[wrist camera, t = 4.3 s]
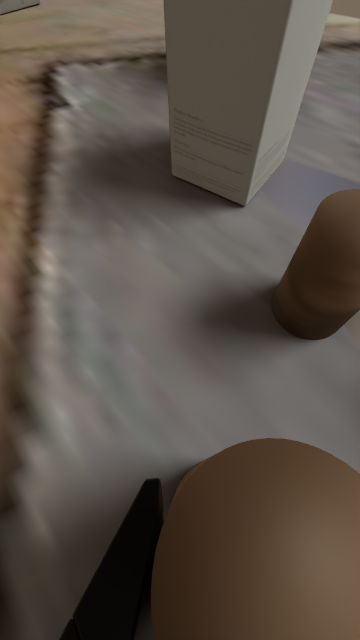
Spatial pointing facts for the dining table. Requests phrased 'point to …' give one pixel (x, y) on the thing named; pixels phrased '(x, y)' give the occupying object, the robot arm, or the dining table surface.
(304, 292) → the medium walnut peg
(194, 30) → the supplement box
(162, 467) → the dining table surface
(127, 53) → the dining table surface
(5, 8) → the coffee box
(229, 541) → the tall walnut peg
